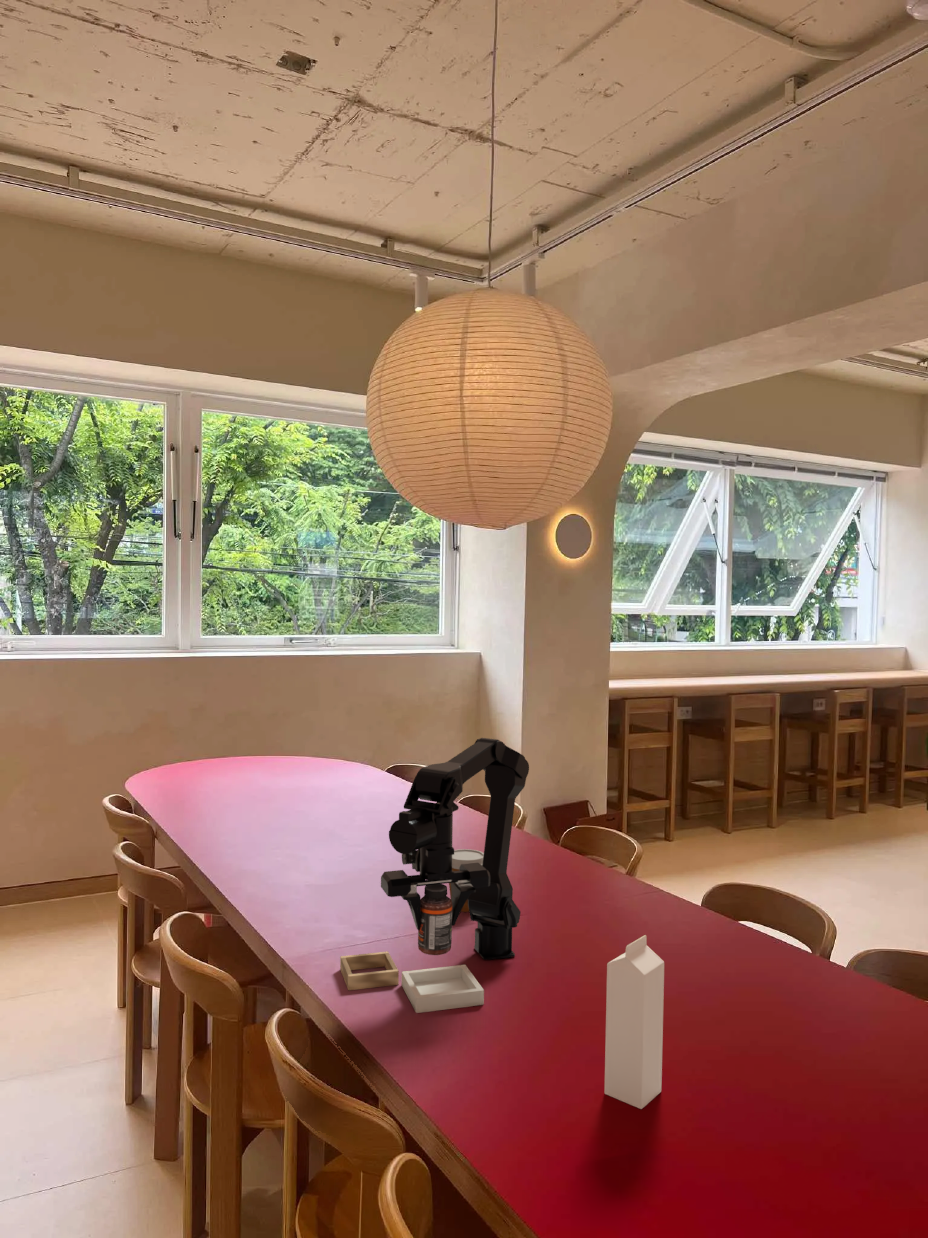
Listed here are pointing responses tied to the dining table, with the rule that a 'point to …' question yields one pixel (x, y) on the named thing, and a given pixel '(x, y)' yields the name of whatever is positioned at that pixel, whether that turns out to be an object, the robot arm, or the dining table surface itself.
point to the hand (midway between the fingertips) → (435, 927)
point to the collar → (369, 978)
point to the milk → (634, 1025)
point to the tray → (442, 988)
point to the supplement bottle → (435, 921)
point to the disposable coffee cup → (465, 858)
